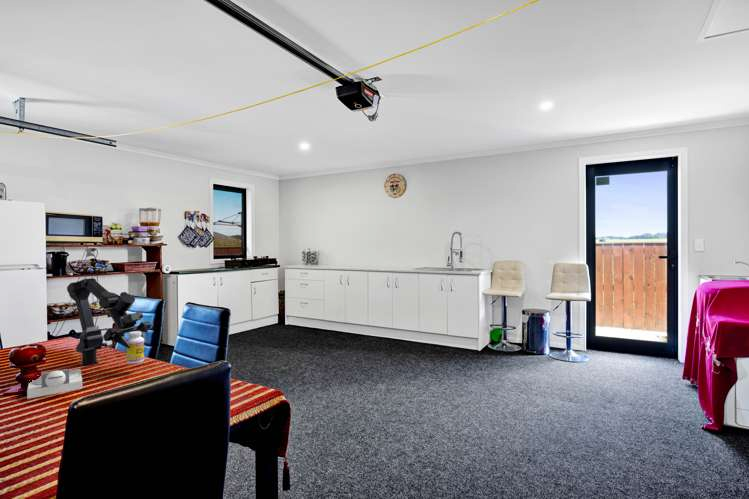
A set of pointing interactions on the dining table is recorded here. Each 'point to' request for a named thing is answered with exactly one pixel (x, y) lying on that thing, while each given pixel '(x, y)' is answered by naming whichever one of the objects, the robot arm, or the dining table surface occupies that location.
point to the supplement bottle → (135, 348)
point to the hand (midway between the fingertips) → (137, 345)
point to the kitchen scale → (55, 383)
